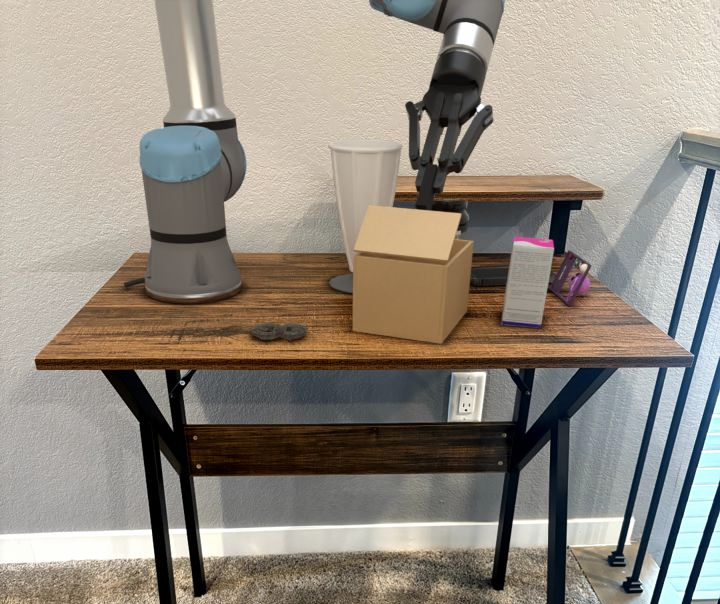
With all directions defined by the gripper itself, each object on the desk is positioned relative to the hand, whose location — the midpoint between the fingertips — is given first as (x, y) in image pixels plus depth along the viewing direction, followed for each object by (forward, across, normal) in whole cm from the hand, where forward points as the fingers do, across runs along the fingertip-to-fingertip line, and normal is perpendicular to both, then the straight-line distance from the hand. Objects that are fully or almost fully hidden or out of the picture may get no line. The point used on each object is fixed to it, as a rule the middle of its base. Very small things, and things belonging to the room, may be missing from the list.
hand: (422, 210), depth 101 cm
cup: (+2, +13, -20) cm, 24 cm away
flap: (+6, 0, +3) cm, 7 cm away
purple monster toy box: (-3, -21, -24) cm, 32 cm away
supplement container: (-10, +5, -32) cm, 34 cm away
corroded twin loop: (+22, +15, 0) cm, 26 cm away
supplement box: (+8, -15, -14) cm, 22 cm away
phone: (-7, -9, -29) cm, 31 cm away
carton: (+12, 0, -9) cm, 15 cm away
